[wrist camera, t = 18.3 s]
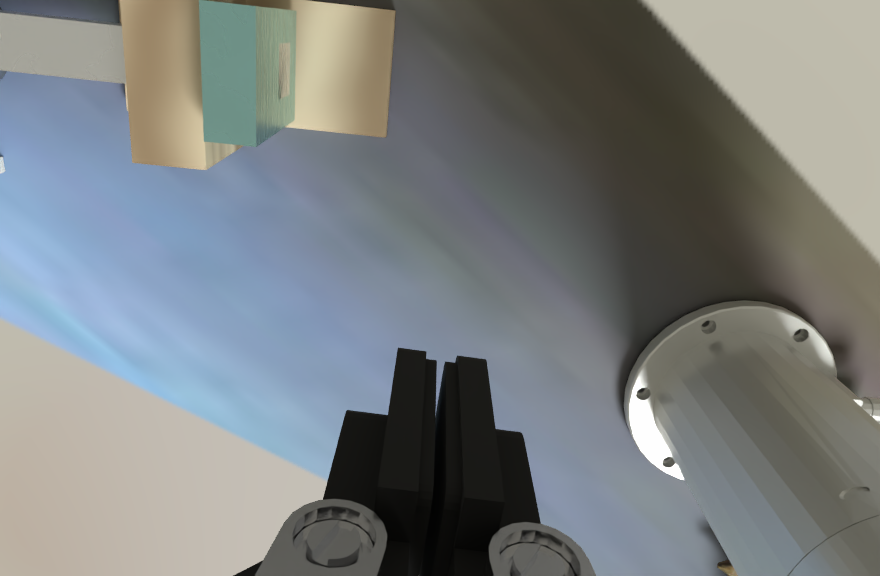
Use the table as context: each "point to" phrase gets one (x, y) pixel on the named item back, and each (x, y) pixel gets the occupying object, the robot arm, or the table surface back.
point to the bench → (316, 75)
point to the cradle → (2, 165)
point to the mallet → (222, 62)
